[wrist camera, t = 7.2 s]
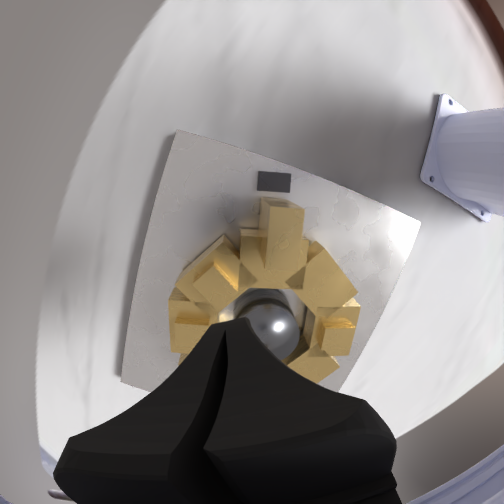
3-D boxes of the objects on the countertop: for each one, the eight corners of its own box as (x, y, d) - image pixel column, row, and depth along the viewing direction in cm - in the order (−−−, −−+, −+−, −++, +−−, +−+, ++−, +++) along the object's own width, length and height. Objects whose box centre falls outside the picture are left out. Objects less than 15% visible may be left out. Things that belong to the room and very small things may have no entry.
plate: (413, 220, 20) (445, 231, 16) (313, 417, 25) (323, 447, 21) (180, 131, 18) (166, 122, 14) (123, 374, 22) (110, 404, 18)
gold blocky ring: (329, 382, 22) (345, 420, 18) (178, 379, 21) (169, 421, 17) (364, 207, 18) (400, 219, 14) (175, 192, 17) (156, 200, 13)
